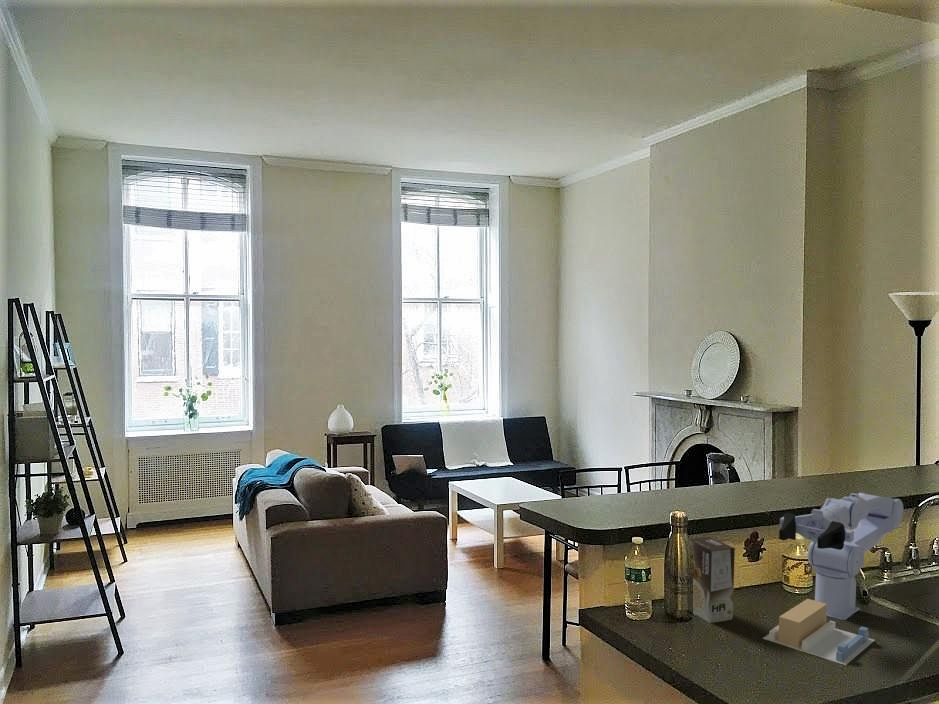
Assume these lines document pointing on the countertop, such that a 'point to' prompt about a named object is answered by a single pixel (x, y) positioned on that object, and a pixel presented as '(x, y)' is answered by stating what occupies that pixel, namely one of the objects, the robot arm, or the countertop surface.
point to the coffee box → (712, 579)
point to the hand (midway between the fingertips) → (799, 539)
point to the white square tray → (830, 643)
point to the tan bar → (801, 622)
